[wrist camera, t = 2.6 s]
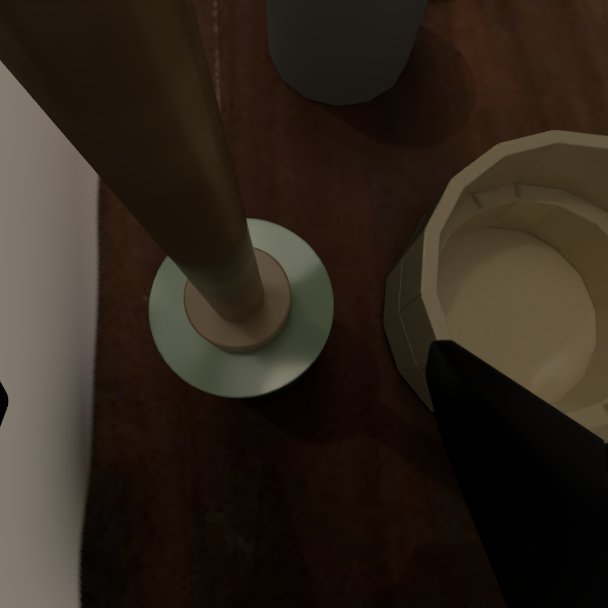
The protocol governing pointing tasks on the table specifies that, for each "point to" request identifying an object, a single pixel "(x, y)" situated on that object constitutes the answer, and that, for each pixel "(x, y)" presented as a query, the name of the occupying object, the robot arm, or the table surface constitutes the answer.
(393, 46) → the cup
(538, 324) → the mixing bowl
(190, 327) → the green cylinder pedestal
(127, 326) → the table surface
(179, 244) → the stirring stick
